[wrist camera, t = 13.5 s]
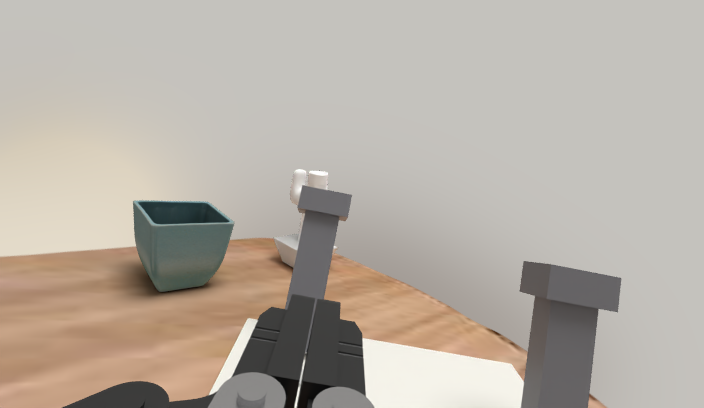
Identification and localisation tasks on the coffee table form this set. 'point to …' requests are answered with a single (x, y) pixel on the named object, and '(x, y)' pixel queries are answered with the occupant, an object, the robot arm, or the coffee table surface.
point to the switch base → (417, 377)
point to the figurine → (290, 242)
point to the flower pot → (180, 241)
